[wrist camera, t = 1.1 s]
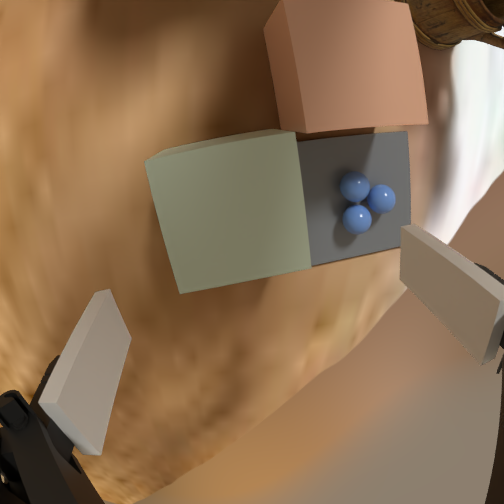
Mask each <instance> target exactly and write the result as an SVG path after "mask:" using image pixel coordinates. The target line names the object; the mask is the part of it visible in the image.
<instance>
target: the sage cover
mask: <svg viewBox="0 0 504 504" xmlns="http://www.w3.org/2000/svg"><path fill="white" fill-rule="evenodd" d="M144 163H145V168H146V172H147V176H148V180H149V185H150V189H151V193H152V197H153V201H154V205H155V209H156V213H157V216H158V220H159V224H160V228H161V231H162V235H163V239H164V242H165V246H166V249H167V253H168V256H169V260H170V263H171V267H172V270H173V273H174V277H175V280H176V283H177V287H178V290H179V293H180V294H183V293H189V292H194V291H199V290H205V289H210V288H215V287H220V286H226V285H231V284H236V283H241V282H246V281H251V280H256V279H261V278H266V277H271V276H276V275H281V274H286V273H290V272H295V271H300V270H305V269H310V268H311V258H310V248H309V238H308V229H307V220H306V211H305V202H304V194H303V186H302V178H301V170H300V163H299V156H298V149H297V142H296V135H295V132H292V131H285V130H278V129H267V130H260V131H254V132H248V133H242V134H236V135H231V136H225V137H220V138H215V139H210V140H205V141H200V142H195V143H191V144H186V145H182V146H177V147H173V148H169V149H165V150H163V151H161V152H159V153H157V154H156V155H154V156H152V157H151V158H149V159H147V160H146V161H144Z"/></svg>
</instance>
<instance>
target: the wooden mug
mask: <svg viewBox="0 0 504 504" xmlns="http://www.w3.org/2000/svg"><path fill="white" fill-rule="evenodd" d="M395 2H401V3H407V4H408V5H409V9H410V13H411V17H412V21H413V26H414V30H415V35H416V40H418V41H419V42H421V43H422V44H424V45H426V46H428V47H430V48H432V49H438V50H443V49H447V48H450V47H453V46H455V45H457V44H459V43H461V41H462V40H477V41H481V42H484V43H487V44H490V45H493V46H496V47H499V48H502V49H504V37H502V36H499V35H497V34H495V33H494V32H497V31H500V30H501V29H502V26H503V27H504V0H395Z"/></svg>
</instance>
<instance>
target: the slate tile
mask: <svg viewBox="0 0 504 504" xmlns="http://www.w3.org/2000/svg"><path fill="white" fill-rule="evenodd" d="M297 149H298V156H299V163H300V170H301V178H302V186H303V194H304V202H305V211H306V220H307V229H308V238H309V248H310V258H311V266H313V265H317V264H322V263H327V262H331V261H336V260H341V259H345V258H350V257H354V256H359V255H364V254H368V253H373V252H377V251H382V250H386V249H390V248H395V247H399V246H401V226H406V225H410V224H411V194H410V164H409V147H408V134H407V131H400V132H385V133H372V134H360V135H350V136H340V137H331V138H323V139H314V140H307V141H299V142H297ZM351 171H357V172H361V173H362V174H364V175H365V176H366V177H367V178H368V180H369V183H370V189H371V188H372V187H374V186H375V185H379V184H384V185H387V186H389V187H390V188H391V189H392V190H393V191H394V193H395V197H396V203H395V206H394V208H393V209H392V210H391V211H390V212H388V213H385V214H379V213H376V212H374V211H373V210H372V209H371V208H370V207H369V205H368V202H367V197H366V198H365V199H364V200H362V201H359V202H351V201H349V200H347V199H346V198H345V197H344V196H343V195H342V193H341V191H340V181H341V179H342V177H343V176H344V175H345V174H346V173H348V172H351ZM352 205H362V206H364V207H365V208H367V209H368V211H369V212H370V214H371V217H372V222H371V226H370V228H369V229H368V230H367V231H366V232H365V233H363V234H359V235H355V234H352V233H350V232H348V231H347V230H346V229H345V227H344V225H343V221H342V217H343V214H344V212H345V210H346V209H347V208H348V207H350V206H352Z"/></svg>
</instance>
